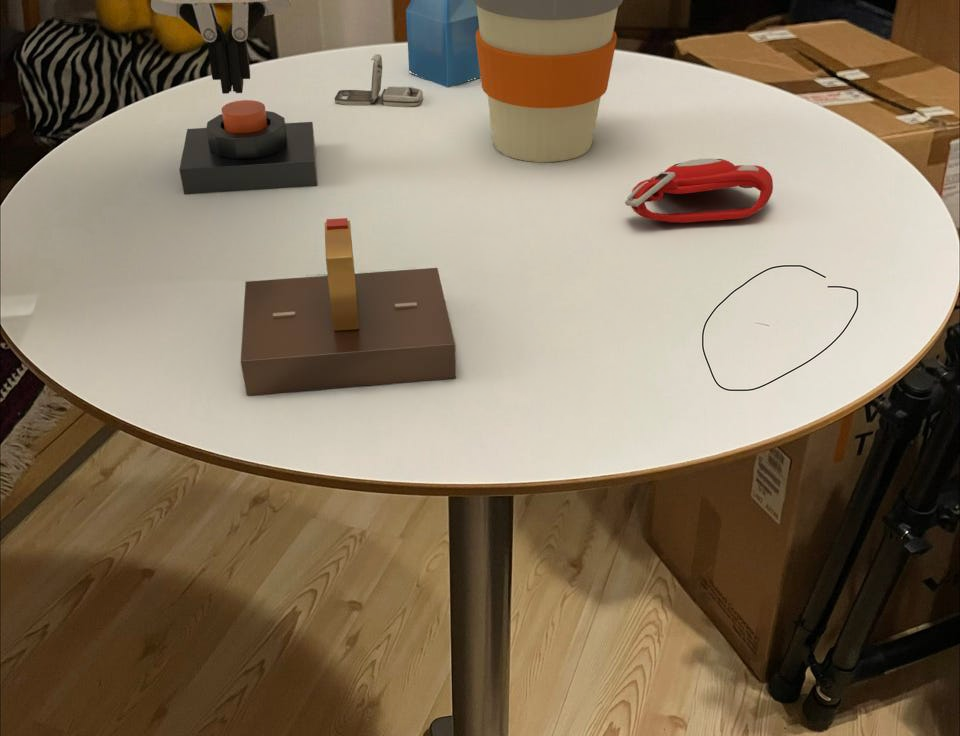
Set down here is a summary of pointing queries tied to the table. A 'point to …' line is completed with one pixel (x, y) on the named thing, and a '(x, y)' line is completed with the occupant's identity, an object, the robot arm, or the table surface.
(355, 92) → the strap clip
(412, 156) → the table surface
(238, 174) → the dark grey button base
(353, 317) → the thumb turn
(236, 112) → the bell button
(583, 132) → the reusable coffee cup
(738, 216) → the tracker holder
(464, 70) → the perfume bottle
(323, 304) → the plate
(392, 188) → the table surface
